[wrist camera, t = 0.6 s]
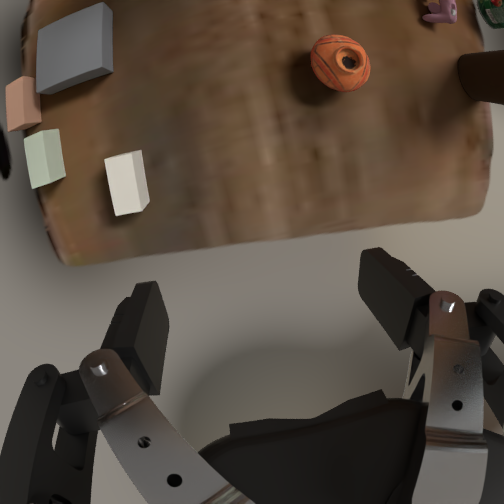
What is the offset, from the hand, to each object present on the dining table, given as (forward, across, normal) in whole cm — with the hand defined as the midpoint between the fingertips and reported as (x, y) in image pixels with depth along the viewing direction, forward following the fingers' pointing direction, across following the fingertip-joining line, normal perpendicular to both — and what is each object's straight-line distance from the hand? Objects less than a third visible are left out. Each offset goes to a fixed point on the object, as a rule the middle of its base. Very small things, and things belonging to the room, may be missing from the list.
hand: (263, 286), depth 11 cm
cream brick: (+27, +13, -1) cm, 30 cm away
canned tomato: (+27, -58, -37) cm, 74 cm away
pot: (+27, -15, -14) cm, 34 cm away
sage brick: (+27, +24, -8) cm, 37 cm away
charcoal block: (+27, +18, -21) cm, 39 cm away
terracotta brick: (+27, +27, -17) cm, 42 cm away
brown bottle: (+27, -46, -17) cm, 56 cm away
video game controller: (+27, -36, -30) cm, 54 cm away
